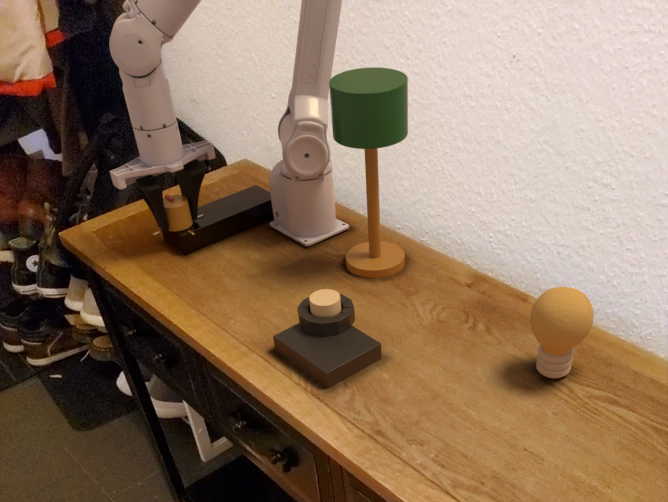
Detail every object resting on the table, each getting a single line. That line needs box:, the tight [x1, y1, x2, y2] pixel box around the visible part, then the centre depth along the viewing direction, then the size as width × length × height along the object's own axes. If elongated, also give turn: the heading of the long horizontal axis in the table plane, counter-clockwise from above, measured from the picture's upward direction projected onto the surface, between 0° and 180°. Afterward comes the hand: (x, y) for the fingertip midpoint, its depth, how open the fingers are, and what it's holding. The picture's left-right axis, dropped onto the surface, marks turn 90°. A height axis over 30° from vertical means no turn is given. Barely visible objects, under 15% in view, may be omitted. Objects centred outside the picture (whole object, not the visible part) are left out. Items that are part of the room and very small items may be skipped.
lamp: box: [329, 66, 409, 279], centre depth 93 cm, size 9×9×23 cm
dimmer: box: [152, 184, 274, 257], centre depth 109 cm, size 20×8×3 cm, turn 131°
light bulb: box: [529, 286, 594, 379], centre depth 79 cm, size 6×6×10 cm
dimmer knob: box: [163, 194, 193, 231], centre depth 104 cm, size 4×4×4 cm
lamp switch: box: [308, 288, 341, 318], centre depth 86 cm, size 4×4×2 cm
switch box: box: [272, 293, 383, 390], centre depth 86 cm, size 11×10×4 cm
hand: (177, 222), depth 105 cm, fingers closed on dimmer knob, 4 cm apart
